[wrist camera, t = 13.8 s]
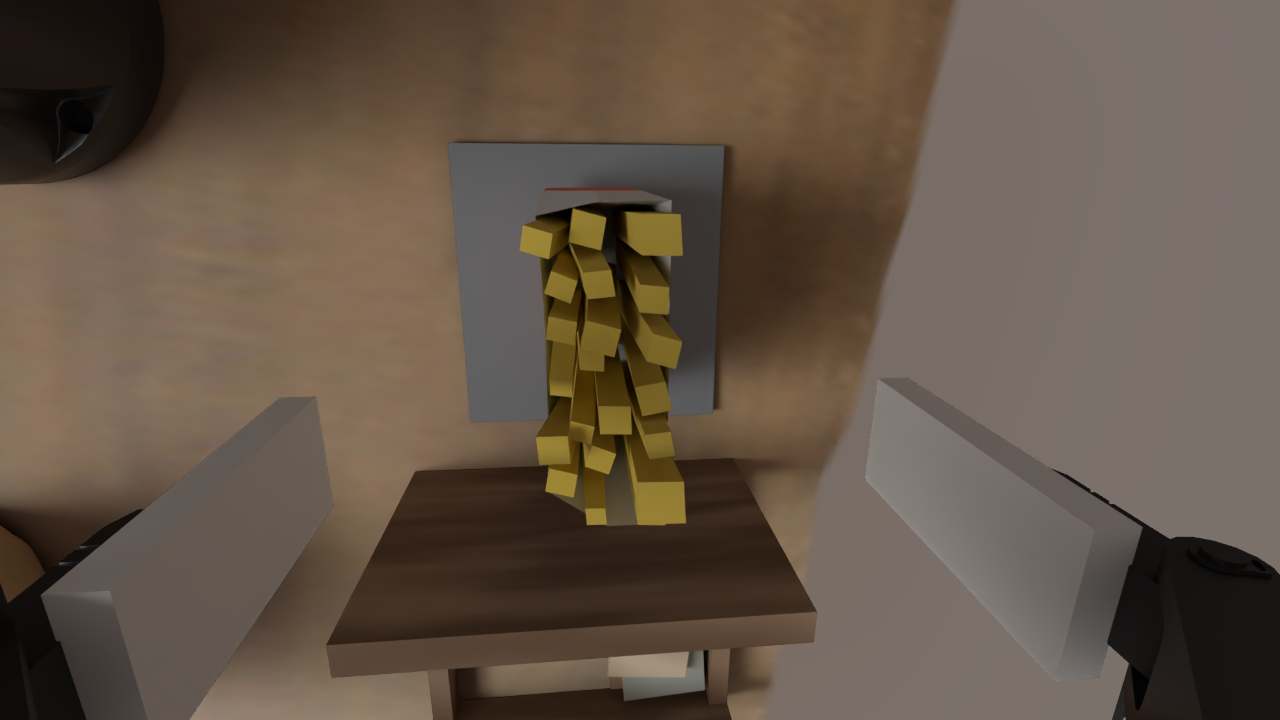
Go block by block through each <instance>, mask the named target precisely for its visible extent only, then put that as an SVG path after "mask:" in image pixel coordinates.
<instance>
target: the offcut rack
mask: <svg viewBox="0 0 1280 720" xmlns="http://www.w3.org/2000/svg"><path fill="white" fill-rule="evenodd" d="M674 462H675V464H676V467H677V469H678V471H679V473H680V475H681V477H682V479H683V481H684V494H685V515H686V523H674V524H665V525H619V526H606V525H587V520H586V513H584V512H582V511H580V510H579V509H577V508H575V507H574V506H572V505H570V504H568V503H567V502H565V501H563V500H562V499H560V498H558V497H556V496H555V495H553V494H551V493H550V492H546V491H545V490H546V484H547V478H548V466H541V467H517V468H493V469H469V470H446V471H422V472H415V473H414V475H413V477H412V479H411V481H410V483H409V485H408V487H407V488H406V490H405V492H404V494H403V496H402V498H401V500H400V502H399V504H398V506H397V508H396V510H395V512H394V514H393V516H392V518H391V520H390V522H389V524H388V526H387V528H386V529H385V531H384V533H383V535H382V537H381V539H380V541H379V543H378V545H377V547H376V549H375V551H374V553H373V555H372V557H371V559H370V561H369V563H368V565H367V567H366V569H365V571H364V572H363V574H362V576H361V578H360V580H359V582H358V584H357V586H356V588H355V590H354V592H353V594H352V596H351V598H350V600H349V602H348V604H347V606H346V608H345V610H344V612H343V613H342V615H341V617H340V619H339V621H338V623H337V625H336V627H335V629H334V631H333V633H332V635H331V637H330V639H329V641H328V643H327V645H326V647H327V653H328V659H329V665H330V671H331V676H332V678H335V677H349V676H363V675H376V674H390V673H403V672H417V671H428V678H429V687H430V695H431V704H432V712H433V720H732V719H731V716H730V712H729V709H728V705H727V695H728V678H729V661H730V648H743V647H757V646H771V645H784V644H796V643H811V642H814V636H815V626H816V618H817V611H816V609H815V607H814V606H813V604H812V602H811V600H810V598H809V596H808V594H807V593H806V591H805V589H804V587H803V585H802V584H801V582H800V580H799V578H798V576H797V575H796V573H795V571H794V569H793V567H792V566H791V564H790V562H789V560H788V558H787V556H786V555H785V553H784V551H783V549H782V547H781V546H780V544H779V542H778V540H777V538H776V537H775V535H774V533H773V531H772V529H771V528H770V526H769V524H768V522H767V520H766V519H765V517H764V515H763V513H762V511H761V509H760V508H759V506H758V504H757V502H756V500H755V499H754V497H753V495H752V493H751V491H750V490H749V488H748V486H747V484H746V482H745V481H744V479H743V477H742V475H741V473H740V472H739V470H738V468H737V466H736V464H735V462H734V461H733V459H708V460H684V461H674ZM703 650H705V654H704V658H703ZM607 657H608V662H607V676H608V677H610V689H600V690H587V691H574V692H562V693H549V694H536V695H523V696H511V697H498V698H485V699H473V700H460V701H459V696H458V686H457V676H456V669H458V668H471V667H485V666H499V665H512V664H526V663H539V662H553V661H567V660H580V659H594V658H607Z"/></svg>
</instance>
